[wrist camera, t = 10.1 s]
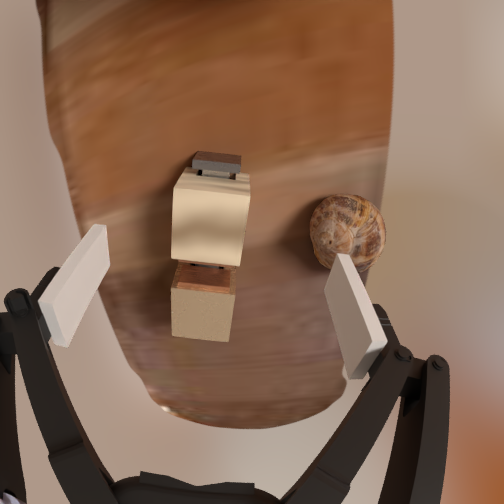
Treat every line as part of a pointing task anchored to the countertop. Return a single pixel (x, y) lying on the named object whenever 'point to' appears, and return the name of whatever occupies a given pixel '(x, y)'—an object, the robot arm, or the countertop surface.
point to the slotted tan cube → (209, 218)
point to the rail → (205, 276)
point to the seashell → (347, 231)
